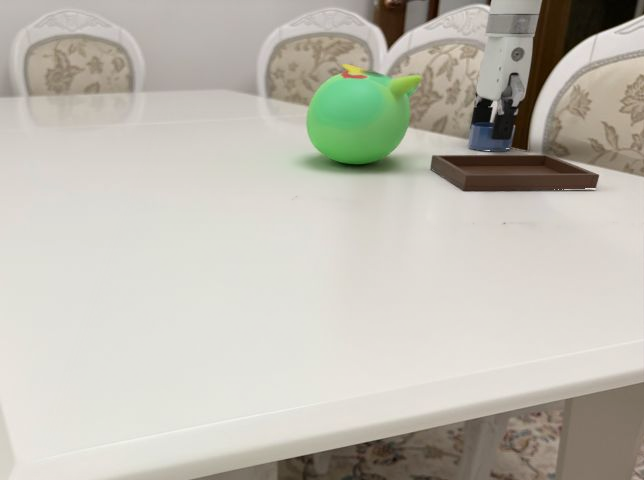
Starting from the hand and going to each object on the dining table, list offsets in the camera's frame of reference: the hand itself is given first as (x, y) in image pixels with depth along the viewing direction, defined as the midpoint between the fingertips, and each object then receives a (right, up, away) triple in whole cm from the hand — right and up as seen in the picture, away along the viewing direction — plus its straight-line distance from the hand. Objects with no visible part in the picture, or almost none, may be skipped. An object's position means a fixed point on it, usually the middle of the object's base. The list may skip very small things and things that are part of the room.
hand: (489, 134), depth 119 cm
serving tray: (-7, -13, -21) cm, 26 cm away
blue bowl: (0, -2, +1) cm, 2 cm away
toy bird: (-26, -8, -10) cm, 29 cm away
